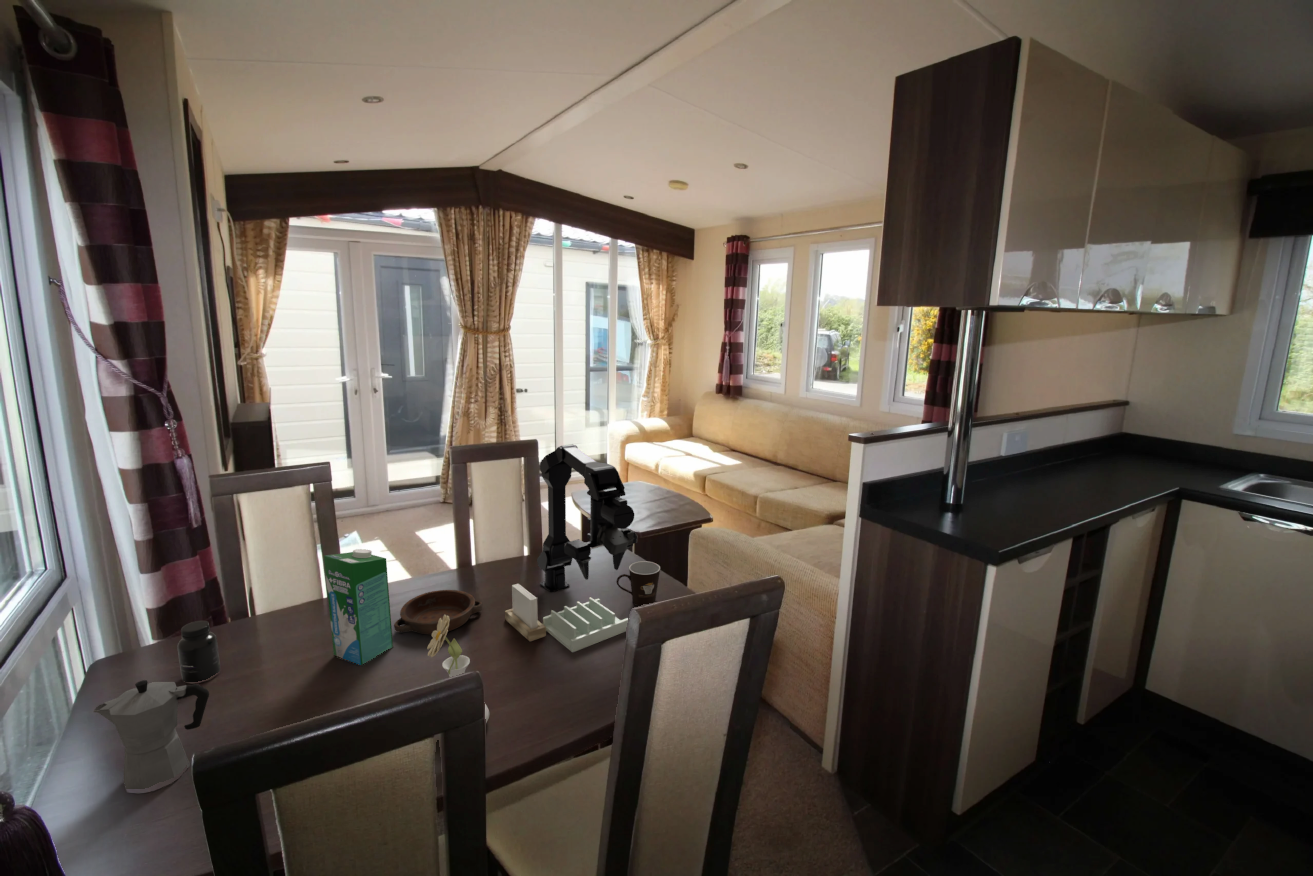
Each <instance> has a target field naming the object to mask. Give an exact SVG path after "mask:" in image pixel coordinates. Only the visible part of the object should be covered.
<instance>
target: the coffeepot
mask: <svg viewBox="0 0 1313 876" xmlns="http://www.w3.org/2000/svg"><path fill="white" fill-rule="evenodd" d="M191 696H196V700H195V704H194V705H195V706H194V707H195V709H194V712H193V714H192V722H191V723H188V724H184V729H185V730H187V731H188V730H194V729H196V728H199V727H200V726H201V724H202V721H203V717H204V714H205V711H206V707H207V703H208V699H209V697H210V692H209V690H208V689H207V688H206V687H204V686H202V685H200V684H187V685H186V684H185V685H180V686H177V685H176V682H175V681H153V682H150V683H149V681H148V679H147V680H145V679H144V680H143V679H142V680H139V681H137V682H136V683H135V687H134V688H131V689H128V690H126V691H124V692H123V693H122V694H120V695H119V696H118V697H116V698H113V699H110V700H107V701H105V702H103V703H101V704H98V705H97V706H96V707H95V709H94V710H93V713H98V714H99V715H100V716H103V717H104V718H105V719H107V720H108V721H110V722H111V723H112V724H113V725H114V726H115V728H116V731H117V733H118V735H119V737H120V740H121V742H122V745H123V746H124V747H125V748H124V761H123V779H124V782H123V784H124V783H125V785H124V787H125V786H126V789H145V788H149V787H151V786H153V785H155V784H157V783H159V782H164V781H166V780H169V779H171V778H174V777H175V776H176V775H177V774H179V773H181V772H182V771H183V769H184V768H185V767H186V765H187V768H188V769H189V767H191V763H190V761H189V759H188V757H187V754H186V751H185V750H184V747H183V743H182V741H181V739H180V737H179V734H178V732H177V730H176V728H177V726H178V714H179V708H178V707H179V700H181V699H187V698H188V697H191ZM123 779H122V780H123ZM126 789H125V790H126Z"/></svg>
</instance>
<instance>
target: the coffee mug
mask: <svg viewBox="0 0 1313 876" xmlns="http://www.w3.org/2000/svg"><path fill="white" fill-rule="evenodd" d="M628 571H629V574H625V573H624V574H621V575H619V576H618V577H617V578H616V581H615V582H616V585H617V586H618V588H620V589H621V590H622V591H624V592H626V593H628V594H630V595H631V599H632V603H633V602H634V603H633V604H634V605H635V604H636V606H638V607H640V606H639V605H643V604H649V603H653V602H655V603H656V601H657V600H656V599H657V594H658V593H657V591H658V587H659V586H658V585H659V579H660V574H661V566H660V564H657V563H655V562H653V561H649V560H648V561H646V560H645V561H644V560H643V561H642V560H641V561H636V562H633V563H631V564H630V565H629V567H628ZM624 577H625V578H627V579H628V580H629V582H630V589H631V590H629V589H626V588H625V587H623V586H621V585H620V583H619V582H620V579H621V578H624Z"/></svg>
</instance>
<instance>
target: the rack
mask: <svg viewBox="0 0 1313 876" xmlns="http://www.w3.org/2000/svg"><path fill="white" fill-rule="evenodd" d="M542 617H543V616H542ZM627 623H628V617H626V618H624V619H619V618H618V617H617V616H616V613H615V612H613V611H612V610H610V609H609V608H608V607H606V606H604V605H603V604H601V599H600V598H595V599H594V598H593V597H588V601H586V602H583V603H581V602H580V601H576V606H572V607H568V605H564V606H563V610H560V611H558V612H556V611H555V610H554V609H553V610H552V609H551V611H550V614H549V615H546V616H544V617H543V618H542V624H543V625H544V626H545V627H546V633H549V634H550V635H551V636H552V637H553V638H554V639H556V641H558V642H559V643H560V644H562V645H563V646H564V647H565V648H566V649H567V650H569V651H570V652H571V653H575V652H577V651H580V650H582V649H586V648H587V647H590V646H592V645H595V644H597V643H599V642H604V641H605V640H607V639H610V638H613V637H615V636H617V635H620V634H623V633H626V632H627V631H626V627H627Z"/></svg>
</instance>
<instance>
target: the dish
mask: <svg viewBox="0 0 1313 876" xmlns="http://www.w3.org/2000/svg"><path fill="white" fill-rule="evenodd" d="M482 609H483V602H482V601H480V600H476V599H475V597H474V595H472V594H471V593H469V592H466V591H464V590H463V591H462V590H456V589H440V590H432V591H428V592H425V593H421V594H419V595H417V596H414V597H413V598H410V600H408V601H407V602H405V603H404V604H403V606H402V607H401V609H400V612H399V615H400V617H399V619H397V620H396V621H395V622H394V623H393V624H394V625H393V628H394V630H395V631H396V632H398V633H405V632H414V633H415V632H416V634H417V633H418V634H421V635H432V632H433V631H437V625H438V621H439V619H440V618H441V620H443V616H444V615H446V616H449V619H450V622H449V627H448V632H451V631H454V630H456V629H458V628H459V627H461V626H463V625H464V624H466V623H467V622H468V620H469V619H470V617H471V615H473V614H476V613H478V612H481V611H482Z"/></svg>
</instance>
